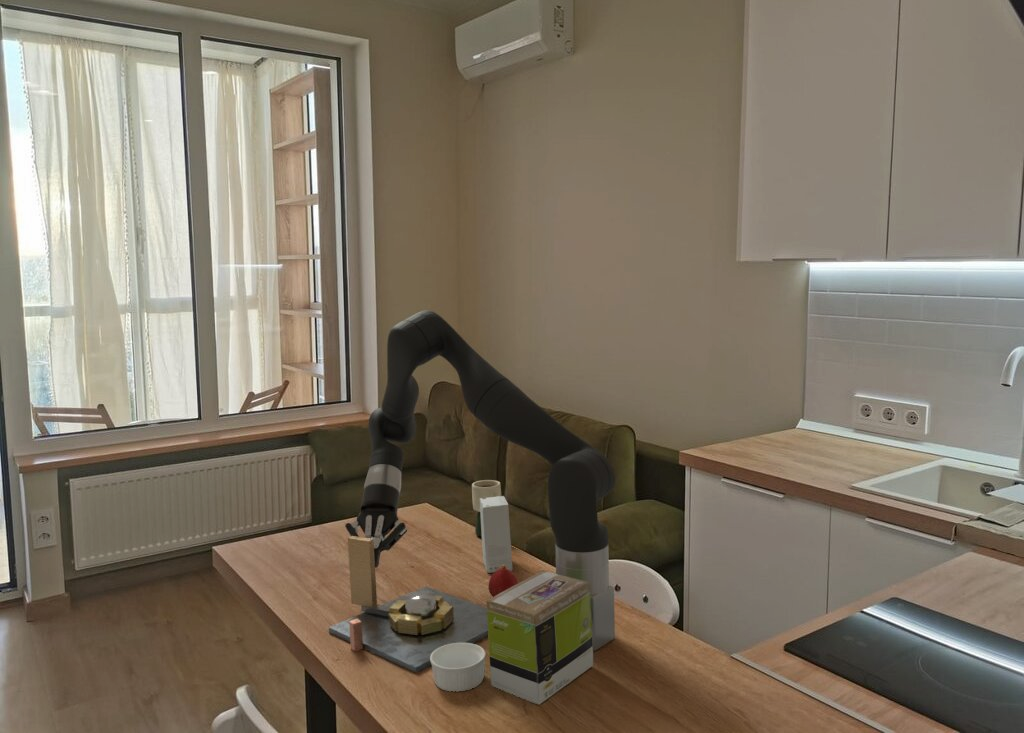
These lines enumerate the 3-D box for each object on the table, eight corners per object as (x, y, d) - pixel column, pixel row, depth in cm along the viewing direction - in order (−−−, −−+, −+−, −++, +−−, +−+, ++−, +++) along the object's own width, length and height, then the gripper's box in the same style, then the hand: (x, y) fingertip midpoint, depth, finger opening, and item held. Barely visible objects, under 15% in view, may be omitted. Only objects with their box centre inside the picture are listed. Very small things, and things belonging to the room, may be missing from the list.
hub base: (513, 622, 149) (512, 591, 148) (408, 677, 130) (406, 642, 130) (426, 590, 165) (425, 562, 164) (321, 635, 146) (319, 604, 146)
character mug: (513, 536, 197) (511, 484, 195) (490, 543, 192) (488, 490, 191) (485, 526, 205) (484, 476, 204) (463, 533, 201) (461, 482, 199)
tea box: (545, 650, 138) (543, 567, 136) (594, 667, 132) (593, 580, 130) (488, 687, 127) (484, 597, 125) (539, 707, 120) (536, 613, 118)
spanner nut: (466, 618, 149) (463, 545, 147) (418, 641, 140) (414, 563, 138) (393, 590, 163) (389, 523, 161) (345, 610, 154) (341, 539, 152)
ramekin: (436, 699, 124) (435, 672, 123) (426, 671, 132) (425, 646, 132) (492, 689, 126) (491, 663, 126) (479, 663, 135) (478, 638, 134)
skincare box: (512, 571, 174) (510, 505, 172) (485, 574, 173) (482, 507, 172) (507, 558, 182) (505, 494, 181) (481, 560, 182) (478, 496, 180)
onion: (483, 607, 156) (482, 567, 155) (498, 596, 161) (496, 557, 160) (510, 612, 154) (508, 572, 153) (523, 600, 159) (522, 561, 158)
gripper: (416, 499, 171) (406, 576, 161) (355, 499, 173) (341, 576, 162) (409, 481, 165) (399, 560, 155) (346, 482, 167) (332, 560, 156)
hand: (369, 568), depth 158 cm, fingers closed
